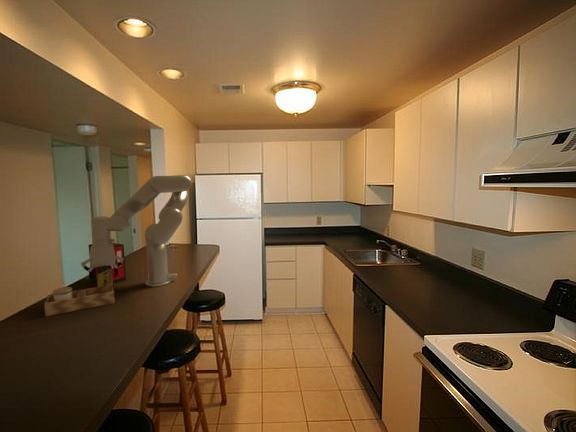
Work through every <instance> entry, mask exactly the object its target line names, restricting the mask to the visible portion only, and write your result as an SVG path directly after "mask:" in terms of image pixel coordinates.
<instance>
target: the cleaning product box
mask: <svg viewBox="0 0 576 432" xmlns="http://www.w3.org/2000/svg"><path fill="white" fill-rule="evenodd" d="M111 244H113V246H114V251H115V256H118V257H121V258H124V260H123V262H122V264H121V265H120V266H119V267H118V274H117V277H115V275H114V268H115V267H114V266H113V265H111V268H112V280H113V285H115V284H118V283H122V282H124V281H127V276H126V274H127V273H126V264H125V263H126V260H125V248H124V247H125V245H124V244H123V243H116V242H112V243H111ZM91 246H93V243H91V244H88V254H89V255H88V257H89V258H90V248H91ZM119 261H120V260H118V259H115V263H116V264H118V263H119ZM90 266H91V264H90V263H89V267H90ZM92 272H93V280H91V279H90V281H92V282H96V283H97V267H94V268H93V270H92Z"/></svg>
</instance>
